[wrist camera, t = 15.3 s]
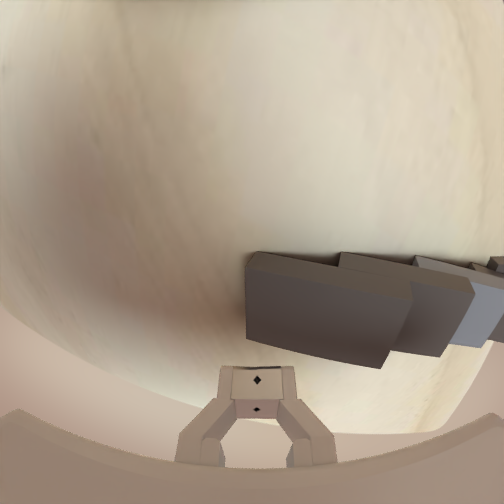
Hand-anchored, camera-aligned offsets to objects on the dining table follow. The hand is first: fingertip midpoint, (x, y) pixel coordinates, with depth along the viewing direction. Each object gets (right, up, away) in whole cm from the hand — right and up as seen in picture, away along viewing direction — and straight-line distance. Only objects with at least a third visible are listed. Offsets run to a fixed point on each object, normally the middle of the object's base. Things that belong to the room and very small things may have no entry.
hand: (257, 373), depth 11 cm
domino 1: (0, +3, +4) cm, 5 cm away
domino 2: (+4, +3, +4) cm, 6 cm away
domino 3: (+9, +2, +4) cm, 10 cm away
